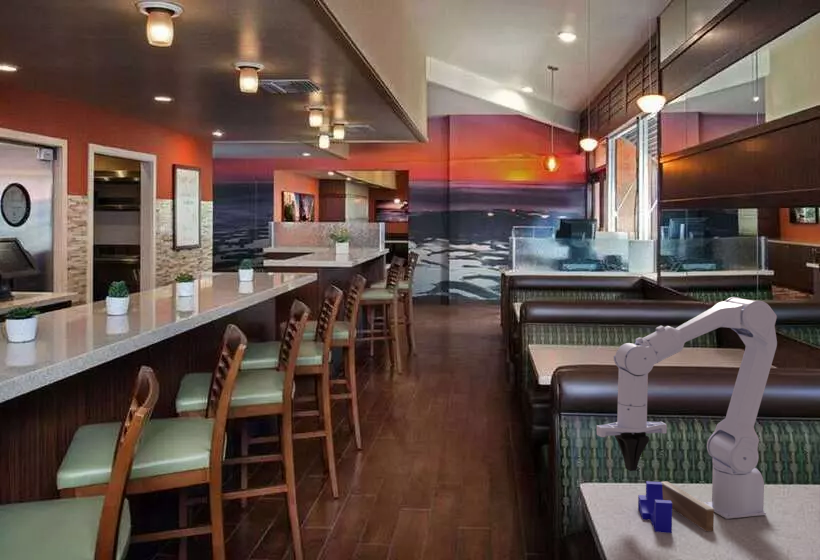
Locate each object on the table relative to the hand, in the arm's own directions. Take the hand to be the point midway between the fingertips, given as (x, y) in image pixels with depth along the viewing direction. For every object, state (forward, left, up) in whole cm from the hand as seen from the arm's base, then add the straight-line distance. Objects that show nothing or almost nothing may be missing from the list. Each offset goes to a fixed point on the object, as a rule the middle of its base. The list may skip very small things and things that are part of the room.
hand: (630, 469), depth 146 cm
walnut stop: (-11, +3, -10) cm, 15 cm away
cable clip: (-4, +3, -10) cm, 11 cm away
